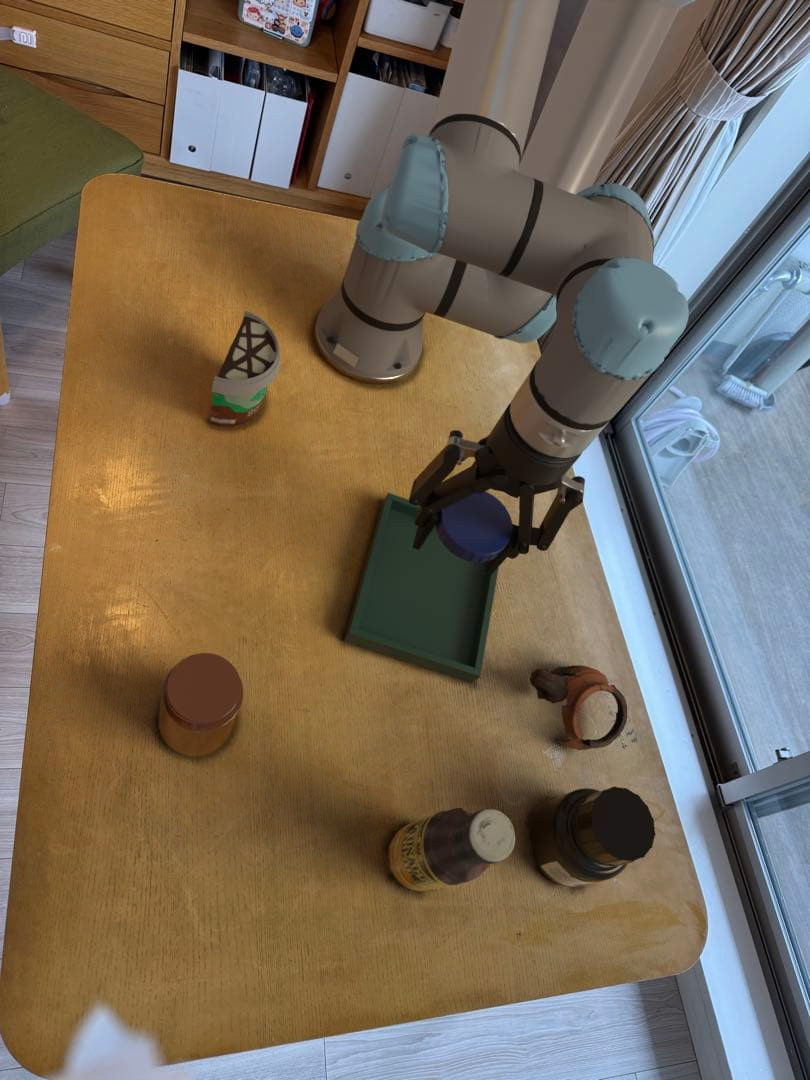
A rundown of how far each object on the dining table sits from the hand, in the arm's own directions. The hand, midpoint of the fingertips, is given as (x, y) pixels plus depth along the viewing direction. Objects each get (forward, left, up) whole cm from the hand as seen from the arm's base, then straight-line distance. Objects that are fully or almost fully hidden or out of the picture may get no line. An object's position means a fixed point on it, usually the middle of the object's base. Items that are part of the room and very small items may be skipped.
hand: (454, 551), depth 84 cm
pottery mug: (+9, +19, -10) cm, 23 cm away
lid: (0, 0, +6) cm, 6 cm away
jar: (+23, -20, -10) cm, 32 cm away
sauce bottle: (+30, +5, -10) cm, 32 cm away
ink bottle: (+24, +21, -10) cm, 33 cm away
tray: (0, 0, -10) cm, 10 cm away
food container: (-17, -28, -10) cm, 34 cm away
